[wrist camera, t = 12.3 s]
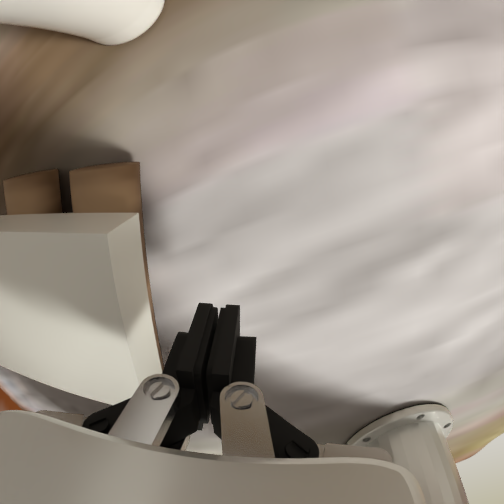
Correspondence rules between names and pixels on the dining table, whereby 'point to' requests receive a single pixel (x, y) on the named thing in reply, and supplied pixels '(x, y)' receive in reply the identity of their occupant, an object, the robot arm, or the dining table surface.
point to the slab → (76, 303)
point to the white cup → (85, 17)
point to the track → (83, 198)
